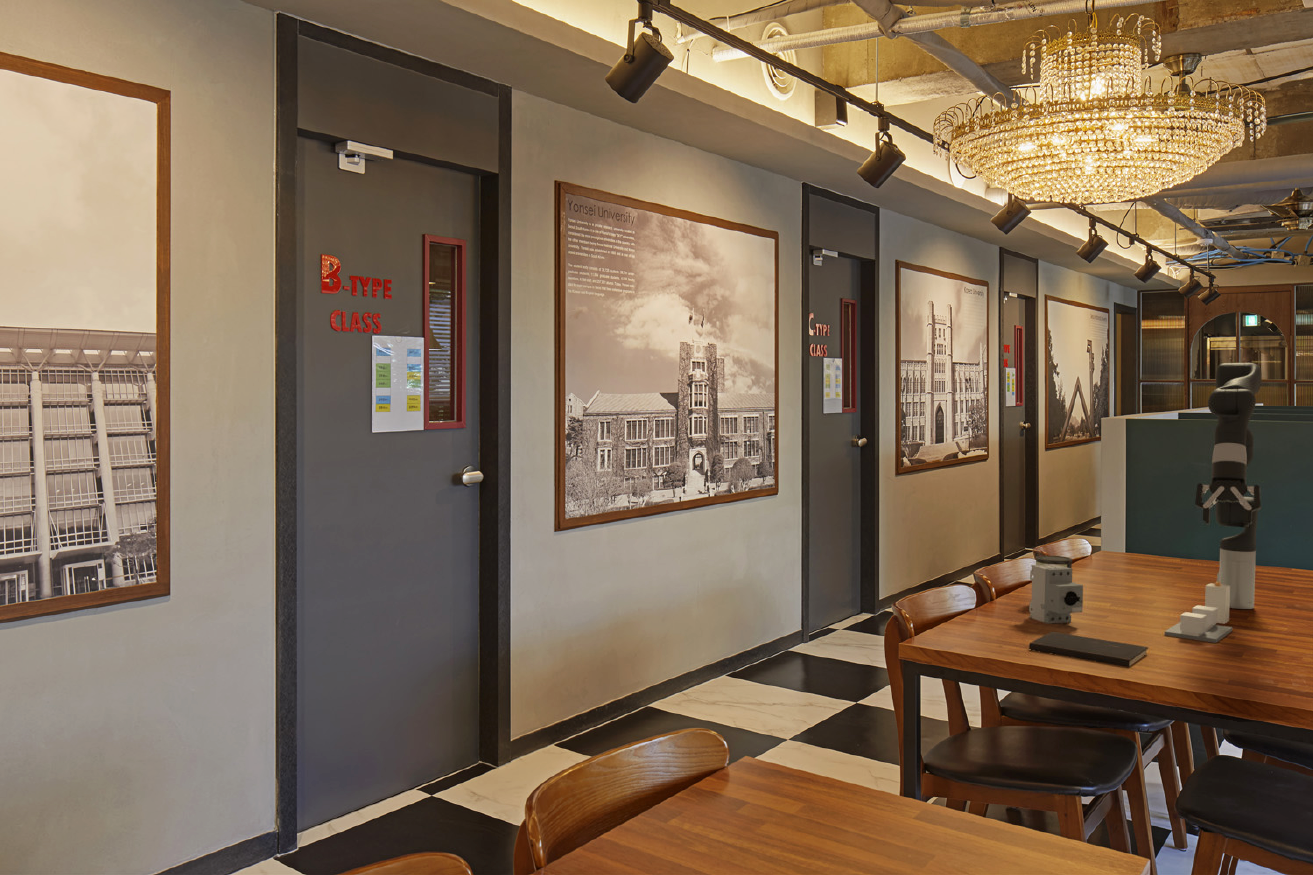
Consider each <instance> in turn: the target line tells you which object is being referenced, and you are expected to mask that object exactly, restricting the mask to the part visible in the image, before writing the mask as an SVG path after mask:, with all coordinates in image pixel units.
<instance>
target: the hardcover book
mask: <svg viewBox="0 0 1313 875" xmlns="http://www.w3.org/2000/svg"><path fill="white" fill-rule="evenodd" d="M1028 646H1029V647H1028V650H1029V649H1031V650H1030V651H1032V650H1035V651H1034V652H1038V651H1040V653H1044V654H1049V653H1052V654H1051V655H1055V654H1056V655H1055V656H1062V657H1067V658H1072V659H1079V660H1084V661H1091V662H1095V661H1096V663H1103V664H1108V665H1113V666H1117V667H1118V666H1119V667H1125V668H1130V667H1131V666H1132V665H1133V664H1135V663H1136V662H1137V661H1139V660H1140V659H1142V658H1143V657H1145V656H1146V655H1147V650H1148V649H1149V647H1148V646H1145V645H1144V646H1143V645H1137V644H1130V643H1126V642H1125V643H1124V642H1119V641H1113V640H1112V641H1111V640H1108V639H1107V640H1106V639H1099V638H1095V637H1086V636H1082V635H1081V636H1080V635H1075V634H1068V633H1061V632H1057V631H1050V632H1049V633H1047V634H1045V635H1043V636H1040V637H1038V638H1036V639H1034V640H1033V641H1031V642H1029V645H1028ZM1144 655H1145V656H1144Z"/></svg>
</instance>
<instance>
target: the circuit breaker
mask: <svg viewBox="0 0 1313 875" xmlns="http://www.w3.org/2000/svg"><path fill="white" fill-rule="evenodd" d="M1030 567H1031V570H1030V572H1029V575H1030V576H1029V580H1030V581H1031V601H1029V606H1028V607H1029V610H1028V611H1029V613H1030V615H1029V616H1028V618H1031V619H1033V620H1036V621H1039V622H1042V623H1044V624H1049V625H1050V624H1061V623H1064V624H1065V623H1072V615H1071V614H1073V613H1078V614H1079V613H1083V610H1084V609H1083V608H1084V607H1083V605H1084V604H1083V603H1084V600H1083V599H1084V585H1083V584H1080V583H1076V582H1073V568H1072V569H1071V568H1067V567H1063V566H1059V565H1054V564H1044V565H1036V564H1031V565H1030Z"/></svg>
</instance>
